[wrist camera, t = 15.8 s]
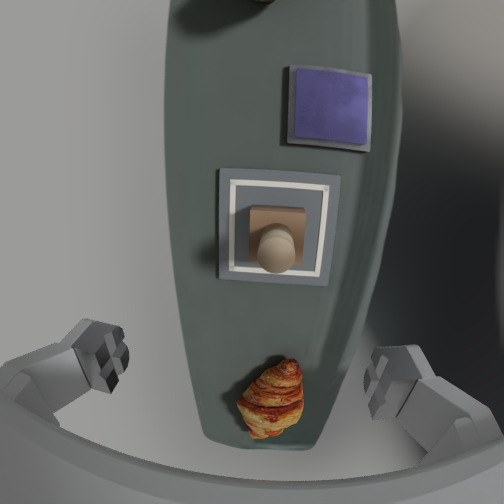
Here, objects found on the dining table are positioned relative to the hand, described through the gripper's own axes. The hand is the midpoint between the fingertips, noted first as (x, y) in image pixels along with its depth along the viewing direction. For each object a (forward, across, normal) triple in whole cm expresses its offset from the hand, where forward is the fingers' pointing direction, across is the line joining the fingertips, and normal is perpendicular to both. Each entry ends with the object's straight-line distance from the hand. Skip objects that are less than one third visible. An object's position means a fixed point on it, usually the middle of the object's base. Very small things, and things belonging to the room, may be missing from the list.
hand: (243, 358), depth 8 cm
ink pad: (+24, -6, -11) cm, 28 cm away
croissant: (+24, -2, +30) cm, 39 cm away
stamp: (+24, -1, +3) cm, 24 cm away
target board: (+24, -1, +3) cm, 24 cm away
